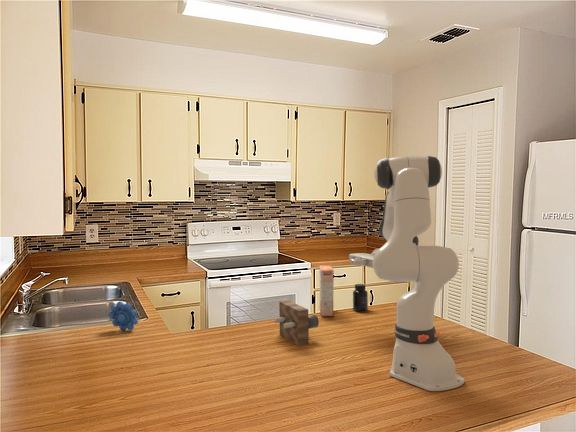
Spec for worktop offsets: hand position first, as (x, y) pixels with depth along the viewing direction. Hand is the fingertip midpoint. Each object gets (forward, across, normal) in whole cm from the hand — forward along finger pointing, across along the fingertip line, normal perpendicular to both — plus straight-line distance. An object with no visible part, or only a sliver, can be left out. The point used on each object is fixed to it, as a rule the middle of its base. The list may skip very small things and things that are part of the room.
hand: (352, 262), depth 183 cm
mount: (+24, -4, +28) cm, 37 cm away
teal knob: (+23, -8, +23) cm, 34 cm away
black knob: (+23, 0, +23) cm, 33 cm away
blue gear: (+80, -46, +28) cm, 97 cm away
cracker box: (-7, -31, +28) cm, 43 cm away
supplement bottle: (-23, -27, +28) cm, 45 cm away
